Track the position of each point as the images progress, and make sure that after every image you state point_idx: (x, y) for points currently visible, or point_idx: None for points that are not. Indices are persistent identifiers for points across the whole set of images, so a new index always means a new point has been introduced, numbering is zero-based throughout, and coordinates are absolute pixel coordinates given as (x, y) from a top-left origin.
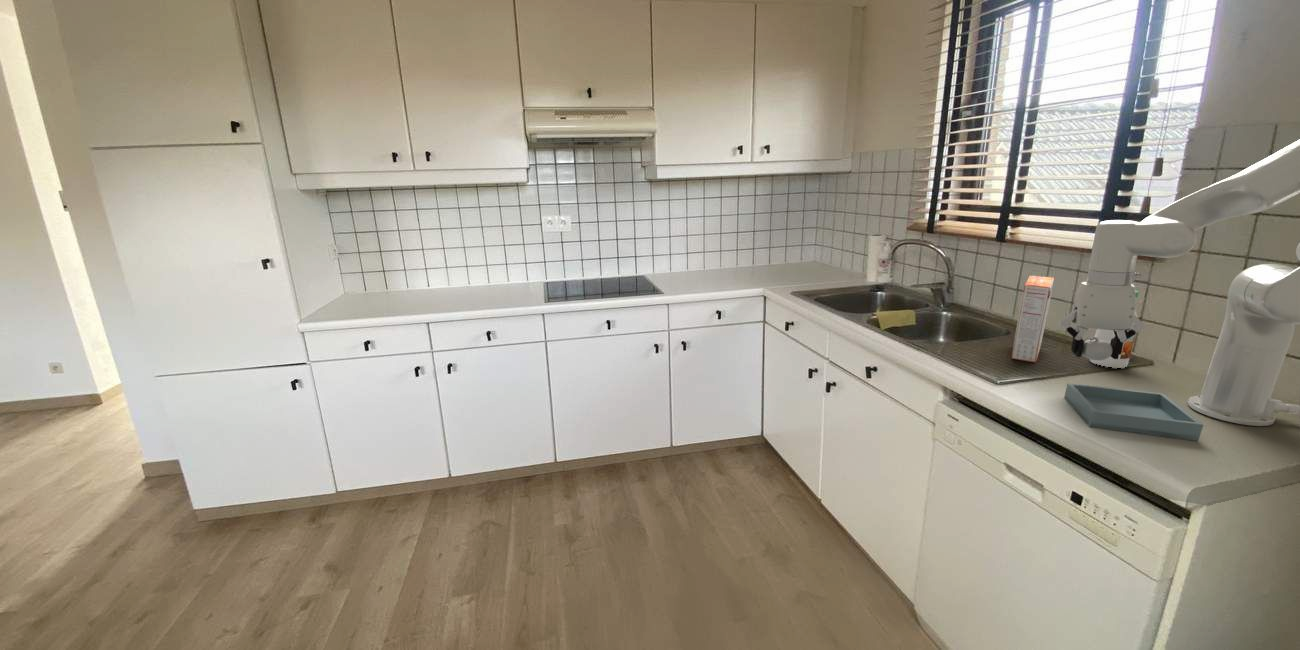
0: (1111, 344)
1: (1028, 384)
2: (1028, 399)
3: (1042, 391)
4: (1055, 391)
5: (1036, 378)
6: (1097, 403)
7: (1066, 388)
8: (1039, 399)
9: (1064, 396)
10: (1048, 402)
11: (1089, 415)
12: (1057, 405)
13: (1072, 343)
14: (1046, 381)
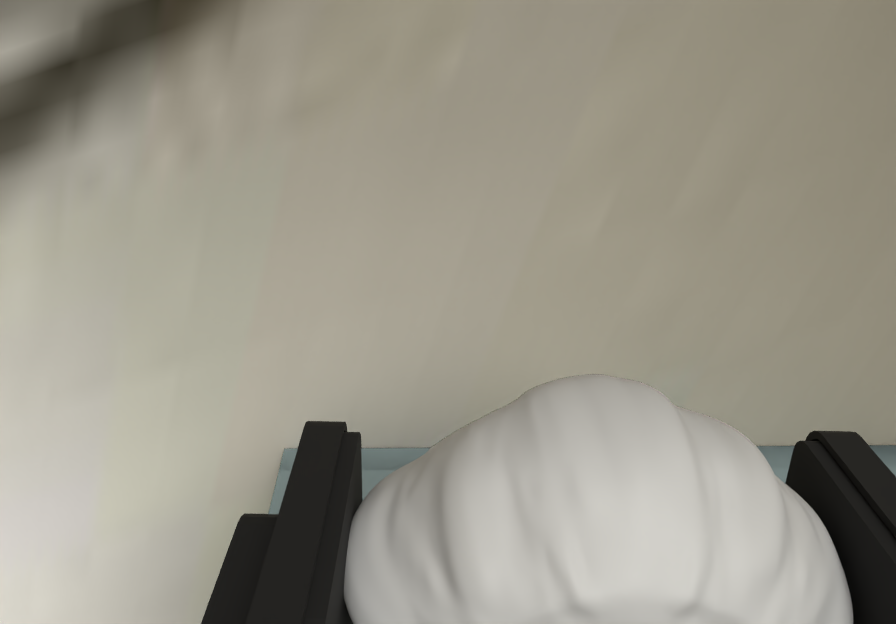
0: (882, 614)
1: (32, 232)
2: (12, 562)
3: (137, 371)
4: (246, 336)
5: (128, 10)
6: None
7: (271, 504)
8: (91, 539)
9: (282, 456)
10: (148, 571)
11: None
12: (200, 601)
13: (213, 610)
14: (217, 80)
